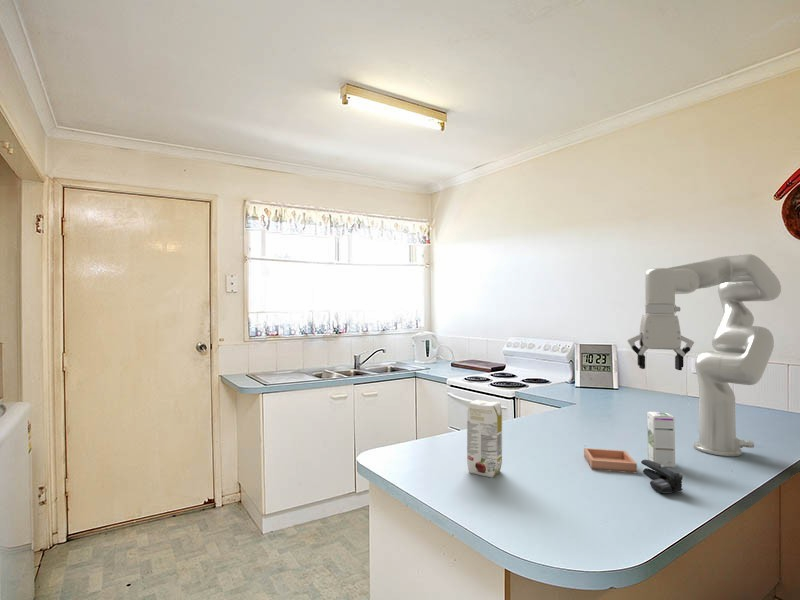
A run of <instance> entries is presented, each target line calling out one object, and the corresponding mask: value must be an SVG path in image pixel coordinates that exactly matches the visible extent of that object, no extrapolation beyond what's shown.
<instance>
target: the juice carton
mask: <svg viewBox="0 0 800 600" xmlns="http://www.w3.org/2000/svg"><path fill="white" fill-rule="evenodd" d="M466 411H467V412H466V413H467V414H466V421H467V422H466V423H467V424H466V426H467V427H466V443H467V444H466V462H467V470H468V473H470V474H472V475H473V474H474V475H477V476H479V475H480V476H484V477H487V478H494V477H495V476H496V475H497V474H498V473H500V472H501V468H502V464H503V409H502V404H501V402H499V401H486V400H483V399H482V400H481V399H475V400H473V401H470V402H469V403H468V406H467V410H466Z"/></svg>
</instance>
